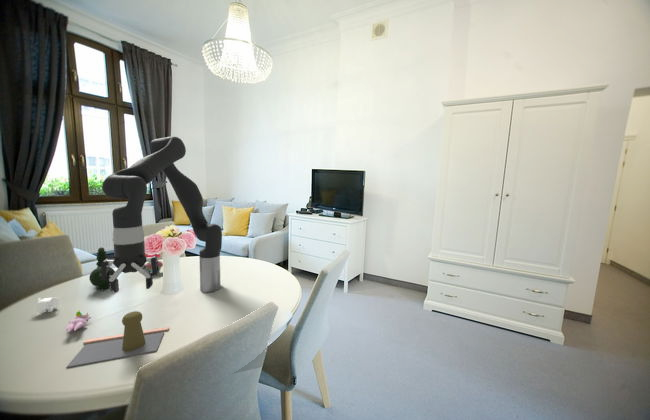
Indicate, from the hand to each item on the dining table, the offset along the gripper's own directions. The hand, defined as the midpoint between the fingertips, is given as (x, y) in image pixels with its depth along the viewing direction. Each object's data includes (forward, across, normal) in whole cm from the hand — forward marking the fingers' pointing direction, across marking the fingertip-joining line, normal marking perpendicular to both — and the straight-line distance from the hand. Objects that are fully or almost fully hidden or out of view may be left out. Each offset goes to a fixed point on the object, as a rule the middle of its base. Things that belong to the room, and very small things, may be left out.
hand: (132, 289), depth 79 cm
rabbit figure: (+20, +23, -18) cm, 35 cm away
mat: (+19, +4, 0) cm, 20 cm away
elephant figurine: (+20, +39, -35) cm, 56 cm away
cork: (+19, +1, 0) cm, 19 cm away
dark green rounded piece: (+20, +30, -58) cm, 68 cm away
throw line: (+20, +4, -7) cm, 21 cm away
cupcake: (+20, +11, -69) cm, 73 cm away
